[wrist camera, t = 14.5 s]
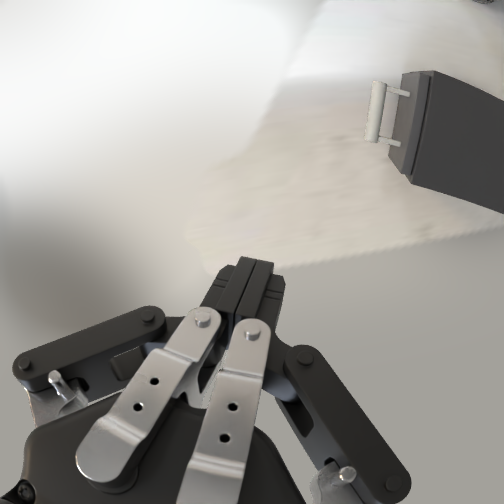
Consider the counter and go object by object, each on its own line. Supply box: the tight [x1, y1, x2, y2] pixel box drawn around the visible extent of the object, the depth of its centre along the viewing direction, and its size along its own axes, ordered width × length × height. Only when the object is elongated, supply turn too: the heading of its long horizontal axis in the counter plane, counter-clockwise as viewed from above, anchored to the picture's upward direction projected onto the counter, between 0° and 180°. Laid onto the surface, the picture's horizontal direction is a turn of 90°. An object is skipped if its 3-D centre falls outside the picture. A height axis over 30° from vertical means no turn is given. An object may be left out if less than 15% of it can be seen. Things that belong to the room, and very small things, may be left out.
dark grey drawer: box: [364, 72, 430, 176], centre depth 27 cm, size 18×11×8 cm, turn 86°
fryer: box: [405, 71, 504, 214], centre depth 26 cm, size 15×13×10 cm
